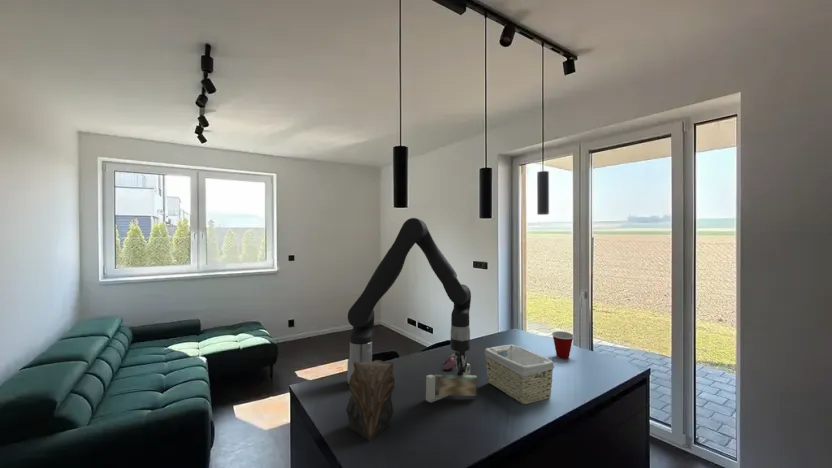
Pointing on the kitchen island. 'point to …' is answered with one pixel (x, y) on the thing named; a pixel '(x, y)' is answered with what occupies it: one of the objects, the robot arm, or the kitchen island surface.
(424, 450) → the kitchen island surface
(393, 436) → the kitchen island surface
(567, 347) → the plastic cup
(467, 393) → the panel
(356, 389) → the owl
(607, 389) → the kitchen island surface
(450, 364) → the video game controller
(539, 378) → the storage basket
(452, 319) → the robot arm
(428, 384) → the gate posts
